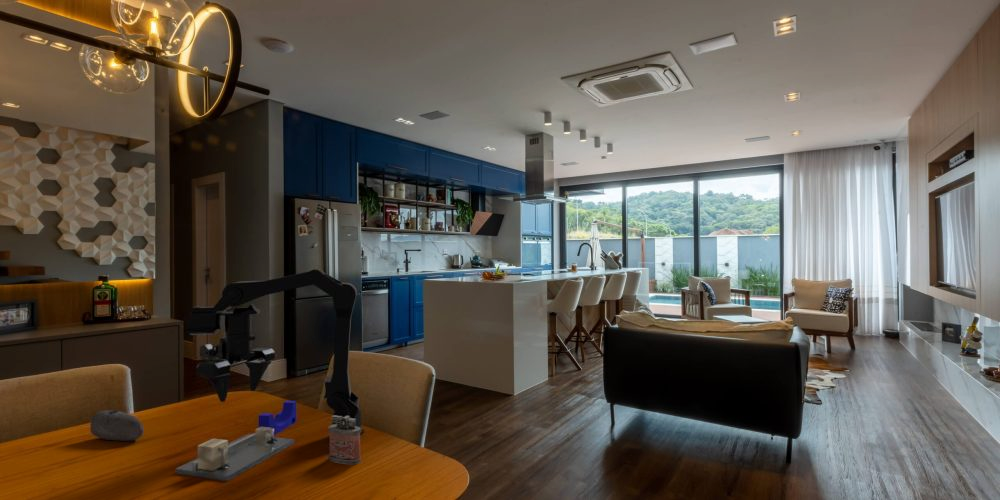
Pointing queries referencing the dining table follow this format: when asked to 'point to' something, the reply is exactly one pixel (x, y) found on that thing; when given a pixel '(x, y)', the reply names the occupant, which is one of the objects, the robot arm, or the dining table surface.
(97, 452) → the dining table surface
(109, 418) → the perforated stone tool
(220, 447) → the block
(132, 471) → the dining table surface
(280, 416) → the cable clip
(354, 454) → the lighter
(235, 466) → the drilled plate
